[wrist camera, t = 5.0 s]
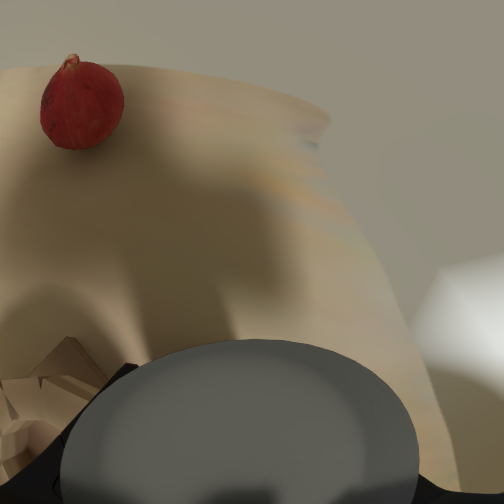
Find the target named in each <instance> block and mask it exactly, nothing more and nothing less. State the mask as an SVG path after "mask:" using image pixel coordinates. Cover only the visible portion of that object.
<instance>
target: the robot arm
mask: <svg viewBox="0 0 504 504" xmlns="http://www.w3.org/2000/svg"><path fill="white" fill-rule="evenodd" d="M138 367H139V366H138V365H137V364H131V363H125V364H124V365H123V366H122V367H121V368H120V369H119V370H118V371H117V373H116V374H115V375H114V376H113V377H112V378H111V379H110V380H109V381H108V382H107V383H106V384H105V385H104V386H103V387H102V388H101V390H100V391H99V392H98V393H97V394H96V395H95V396H94V397H93V398H92V399H91V400H90V401H89V402H88V404H87V405H86V406H85V407H84V408H83V409H82V410H81V411H80V412H79V413H78V414H77V415H76V416H75V418H74V419H73V420H72V421H71V422H70V423H69V424H68V425H67V426H66V427H65V428H64V430H63V431H62V432H61V435H60V434H59V435H58V436H57V437H56V438H55V439H54V440H53V441H52V442H51V443H50V445H49V446H48V447H47V448H46V449H45V450H44V451H43V452H42V453H40V454H39V455H38V456H37V457H36V458H35V459H34V460H33V461H31V462H30V463H29V464H28V465H27V466H25V467H24V468H23V469H22V470H20V471H19V472H18V473H17V474H16V475H14V476H13V477H12V478H11V479H9V480H8V481H7V482H6V483H4V484H2V485H0V504H64V503H63V498H62V493H61V487H60V468H61V462H62V457H63V451H64V448H65V445H66V443H67V440H68V438H69V435H70V433H71V430H72V429H73V427H74V426H75V424H76V422H77V421H78V419H79V418H80V416H81V414H82V413H83V412H84V410H85V409H86V408H87V407H88V406H89V405H90V404H91V403H92V402H93V401H94V399H95V398H96V397H97V396H98V395H99V394H100V393H102V392H103V391H104V390H105V389H107V388H108V387H109V386H110V385H112V384H113V383H114V382H115V381H117V380H118V379H120V378H121V377H123V376H125V375H126V374H128V373H130V372H132V371H133V370H135V369H137V368H138ZM411 504H504V491H503V492H502V493H499V494H480V493H465V492H455V491H449V490H445V489H442V488H440V487H438V486H436V485H435V484H433V483H432V482H430V481H429V480H427V479H426V478H425V477H423V476H422V475H420V474H418V481H417V485H416V490H415V494H414V497H413V500H412V502H411Z"/></svg>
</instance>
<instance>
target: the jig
mask: <svg viewBox="0 0 504 504" xmlns="http://www.w3.org/2000/svg"><path fill="white" fill-rule="evenodd" d="M108 381H109V380H108V379H107V378H106V377H105V375H104V374H103V373H102V372H101V371H100V369H99V368H98V367H97V366H96V365H95V363H94V362H93V361H92V360H91V358H90V357H89V356H88V355H87V353H86V352H85V351H84V349H83V348H82V347H81V346H80V344H79V343H78V342H77V340H76V339H75V338H73V337H66V338H65V339H64V340H63V341H62V342H61V343H60V344H59V345H58V346H57V347H56V348H55V349H54V350H53V351H52V352H51V353H50V354H49V355H48V356H47V357H46V358H45V359H44V360H43V361H42V362H41V363H40V364H39V365H38V366H37V367H36V368H35V369H34V370H33V372H32V373H31V374H30V375H29V376H28V377H27V378H21V379H7V380H1V381H0V485H2V484H4V483H6V482H7V481H8V480H9V479H11V478H12V477H13V476H14V475H16V474H17V473H18V472H19V471H20V470H22V469H23V468H24V467H25V466H27V465H28V464H29V463H30V462H31V461H33V460H34V459H35V458H36V457H37V456H38V455H39V454H40V453H42V452H43V451H44V450H45V449H46V448H47V447H48V446H49V445H50V443H51V442H52V441H53V440H54V439H55V438H56V437H57V436H58V435H59V434H60V435H61V432H62V431H63V430H64V428H65V427H66V426H67V425H68V424H69V423H70V422H71V421H72V420H73V419H74V418H75V416H76V415H77V414H78V413H79V412H80V411H81V410H82V409H83V408H84V407H85V406H86V405H87V404H88V402H89V401H90V400H91V399H92V398H93V397H94V396H95V395H96V394H97V393H98V392H99V391H100V390H101V388H102V387H103V386H104V385H105V384H106V383H107V382H108Z"/></svg>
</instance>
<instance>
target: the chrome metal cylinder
mask: <svg viewBox="0 0 504 504" xmlns="http://www.w3.org/2000/svg"><path fill="white" fill-rule="evenodd" d="M419 462H420V461H419V446H418V441H417V436H416V432H415V428H414V426H413V423H412V421H411V418H410V416H409V413H408V412H407V410H406V408H405V407H404V405H403V403H402V402H401V400H400V399H399V397H398V396H397V395H396V394H395V393H394V391H393V390H392V389H391V388H390V387H389V386H388V385H387V384H386V383H385V382H384V381H383V380H382V379H380V378H379V377H378V376H377V375H376V374H375V373H373V372H372V371H371V370H369V369H367V368H366V367H364V366H362V365H361V364H359V363H357V362H356V361H354V360H352V359H350V358H347V357H345V356H343V355H340V354H338V353H336V352H334V351H330V350H327V349H323V348H320V347H316V346H313V345H309V344H303V343H297V342H290V341H284V340H264V339H248V340H233V341H222V342H217V343H211V344H206V345H200V346H195V347H191V348H188V349H185V350H181V351H178V352H174V353H171V354H168V355H165V356H163V357H161V358H158V359H156V360H154V361H151V362H149V363H146V364H144V365H142V366H140V367H138V368H137V369H135V370H133V371H132V372H130V373H128V374H126V375H125V376H123V377H121V378H120V379H118V380H117V381H115V382H114V383H113V384H112V385H110V386H109V387H108V388H107V389H105V390H104V391H103V392H102V393H100V394H99V395H98V396H97V397H96V398H95V399H94V401H93V402H92V403H91V404H90V405H89V406H88V407H87V408H86V409H85V410H84V412H83V413H82V414H81V416H80V418H79V419H78V421H77V422H76V424H75V426H74V427H73V429H72V430H71V433H70V435H69V438H68V440H67V443H66V445H65V448H64V451H63V457H62V462H61V468H60V487H61V493H62V498H63V503H64V504H411V502H412V500H413V497H414V494H415V490H416V485H417V481H418V474H419Z"/></svg>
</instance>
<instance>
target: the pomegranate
mask: <svg viewBox="0 0 504 504" xmlns="http://www.w3.org/2000/svg"><path fill="white" fill-rule="evenodd" d="M123 108H124V96H123V92H122V89H121V86H120V84H119V82H118V80H117V78H116V77H115V75H114V74H113V73H111V72H110V71H109V70H107V69H106V68H104V67H102V66H100V65H98V64H95V63H91V62H81V61H80V59H79V56H77V54H71V55H69V56H68V57H67V58H66V59H65V60H64V62H63V64H62V66H61V67H60V69H59V70H58V71H57V72H56V73H55V74H54V76H53V77H52V78H51V80H50V82H49V84H48V85H47V87H46V89H45V91H44V93H43V96H42V100H41V111H40V122H41V125H42V129H43V131H44V132H45V134H46V135H47V136H48V137H49V138H50V140H51V141H52V142H53V143H54V144H55V145H56V146H58V147H61V148H65V149H70V150H81V149H87V148H90V147H93V146H95V145H98V144H99V143H100V142H102V141H103V140H104V139H106V138H107V137H108V136H110V135H111V133H112V132H113V131H114V129H115V128H116V127H117V126H118V123H119V121H120V119H121V116H122V112H123Z"/></svg>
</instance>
